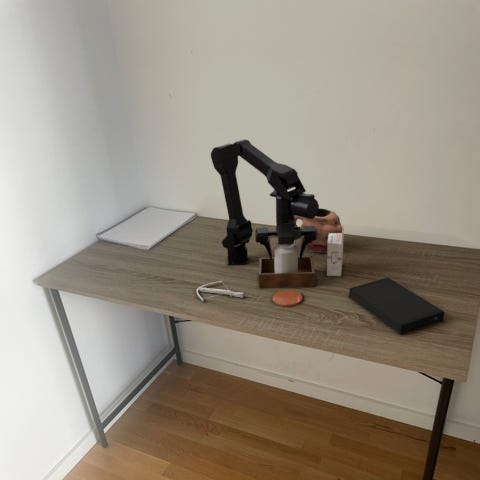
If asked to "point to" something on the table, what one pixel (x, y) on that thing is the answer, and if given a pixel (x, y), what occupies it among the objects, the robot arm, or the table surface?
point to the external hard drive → (396, 305)
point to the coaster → (287, 298)
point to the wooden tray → (286, 274)
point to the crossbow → (217, 291)
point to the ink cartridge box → (335, 253)
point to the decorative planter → (322, 228)
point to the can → (286, 258)
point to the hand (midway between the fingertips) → (285, 259)
